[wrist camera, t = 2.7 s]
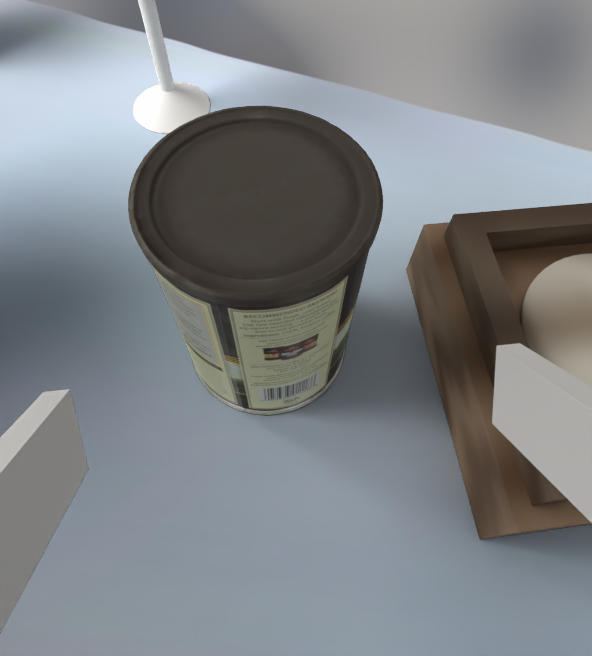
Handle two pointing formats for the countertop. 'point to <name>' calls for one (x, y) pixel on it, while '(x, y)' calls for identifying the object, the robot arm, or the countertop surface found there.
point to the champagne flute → (165, 85)
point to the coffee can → (259, 248)
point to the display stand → (504, 341)
